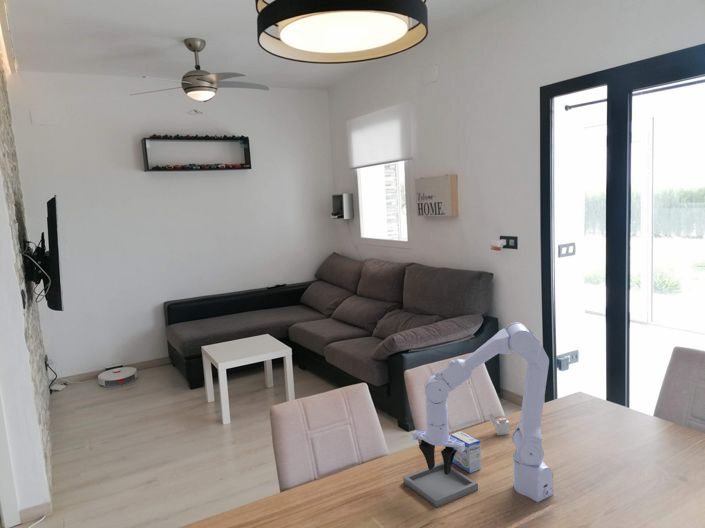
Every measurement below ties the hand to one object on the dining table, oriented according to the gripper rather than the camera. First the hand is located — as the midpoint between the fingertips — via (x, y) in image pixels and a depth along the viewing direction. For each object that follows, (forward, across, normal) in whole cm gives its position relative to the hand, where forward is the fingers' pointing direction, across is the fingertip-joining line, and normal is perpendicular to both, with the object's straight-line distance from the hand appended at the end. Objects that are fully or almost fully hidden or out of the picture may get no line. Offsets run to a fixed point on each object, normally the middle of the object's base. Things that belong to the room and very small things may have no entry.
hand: (439, 470), depth 134 cm
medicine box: (+5, -1, -14) cm, 14 cm away
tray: (+4, 0, 0) cm, 4 cm away
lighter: (+5, -1, -37) cm, 37 cm away
